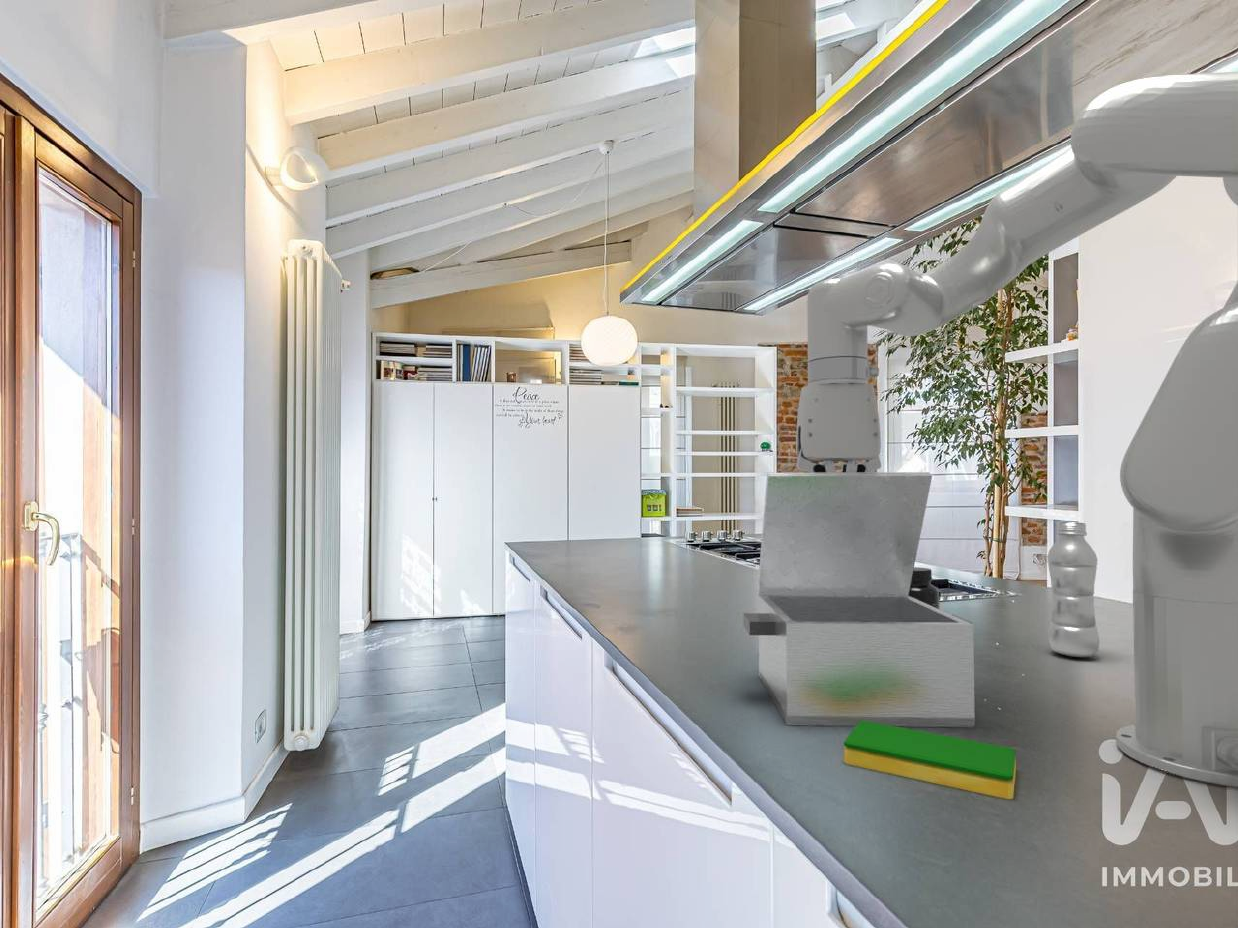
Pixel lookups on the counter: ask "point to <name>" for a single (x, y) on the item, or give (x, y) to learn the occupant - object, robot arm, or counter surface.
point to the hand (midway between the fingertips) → (838, 514)
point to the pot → (864, 660)
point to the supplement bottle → (923, 587)
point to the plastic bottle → (1072, 593)
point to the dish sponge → (933, 758)
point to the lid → (841, 532)
